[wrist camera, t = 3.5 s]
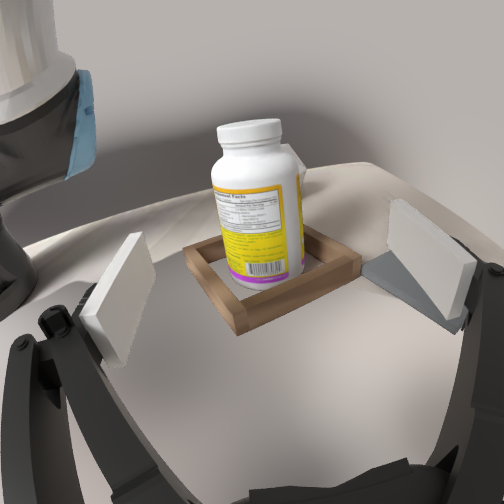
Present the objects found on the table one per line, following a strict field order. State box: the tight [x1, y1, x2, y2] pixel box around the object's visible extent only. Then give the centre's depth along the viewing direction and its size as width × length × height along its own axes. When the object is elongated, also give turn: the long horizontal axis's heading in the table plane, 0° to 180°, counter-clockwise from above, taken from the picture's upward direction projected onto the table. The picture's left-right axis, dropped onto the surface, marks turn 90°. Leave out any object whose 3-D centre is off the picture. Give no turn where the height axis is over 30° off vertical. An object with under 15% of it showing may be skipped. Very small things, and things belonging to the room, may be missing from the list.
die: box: [281, 144, 307, 189], centre depth 41 cm, size 8×9×10 cm
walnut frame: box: [182, 224, 362, 336], centre depth 26 cm, size 12×12×2 cm
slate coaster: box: [360, 250, 486, 335], centre depth 22 cm, size 10×10×1 cm
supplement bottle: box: [211, 119, 305, 291], centre depth 24 cm, size 7×7×13 cm
